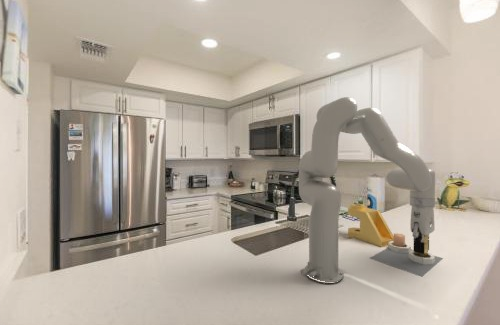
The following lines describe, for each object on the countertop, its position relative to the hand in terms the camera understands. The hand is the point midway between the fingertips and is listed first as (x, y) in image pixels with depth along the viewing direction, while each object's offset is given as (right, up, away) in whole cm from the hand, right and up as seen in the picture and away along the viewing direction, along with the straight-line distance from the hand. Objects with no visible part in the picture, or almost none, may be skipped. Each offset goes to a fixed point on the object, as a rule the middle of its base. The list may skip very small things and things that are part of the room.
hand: (421, 250), depth 86 cm
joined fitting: (-2, -3, +10) cm, 11 cm away
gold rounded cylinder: (0, -3, 0) cm, 3 cm away
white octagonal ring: (0, -4, 0) cm, 4 cm away
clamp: (-8, -5, +23) cm, 25 cm away
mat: (-5, -5, +2) cm, 7 cm away
